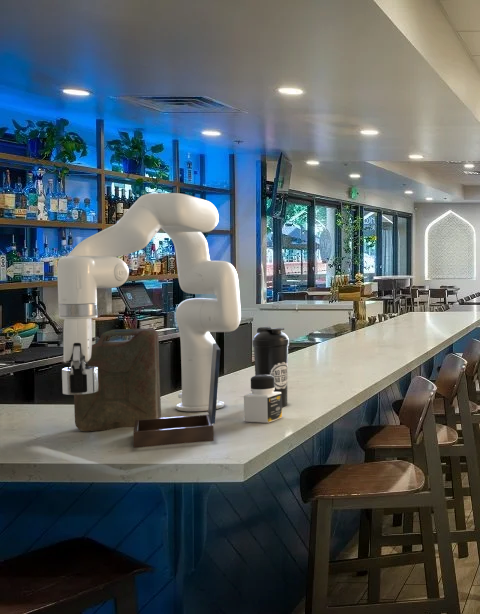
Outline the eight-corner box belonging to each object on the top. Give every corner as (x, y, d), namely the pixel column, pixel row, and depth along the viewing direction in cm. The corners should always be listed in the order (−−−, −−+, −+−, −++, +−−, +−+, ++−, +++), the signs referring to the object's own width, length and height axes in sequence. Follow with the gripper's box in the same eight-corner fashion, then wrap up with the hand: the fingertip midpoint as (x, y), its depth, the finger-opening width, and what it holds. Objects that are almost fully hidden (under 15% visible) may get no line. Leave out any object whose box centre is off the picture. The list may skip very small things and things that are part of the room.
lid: (216, 349, 183) (220, 349, 183) (213, 343, 196) (216, 343, 197) (211, 423, 184) (215, 423, 184) (208, 412, 197) (211, 412, 197)
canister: (162, 422, 208) (159, 327, 206) (156, 428, 200) (153, 330, 198) (82, 426, 203) (79, 329, 201) (72, 433, 195) (69, 332, 193)
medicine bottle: (268, 423, 207) (267, 377, 206) (243, 422, 208) (242, 377, 207) (282, 417, 214) (281, 374, 213) (258, 416, 215) (257, 373, 214)
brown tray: (133, 451, 177) (133, 432, 177) (135, 437, 190) (135, 420, 190) (213, 443, 184) (213, 425, 184) (210, 431, 197) (209, 414, 197)
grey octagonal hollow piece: (58, 392, 178) (57, 368, 177) (88, 389, 183) (87, 365, 183) (72, 395, 174) (71, 371, 174) (103, 391, 180) (102, 367, 179)
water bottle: (269, 410, 224) (268, 329, 223) (246, 406, 229) (244, 328, 228) (297, 404, 233) (296, 327, 231) (274, 401, 238) (273, 325, 237)
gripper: (63, 309, 184) (65, 385, 185) (53, 314, 168) (56, 397, 169) (100, 309, 187) (102, 383, 188) (94, 313, 171) (96, 394, 172)
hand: (80, 389), depth 179 cm, fingers closed on grey octagonal hollow piece, 7 cm apart
